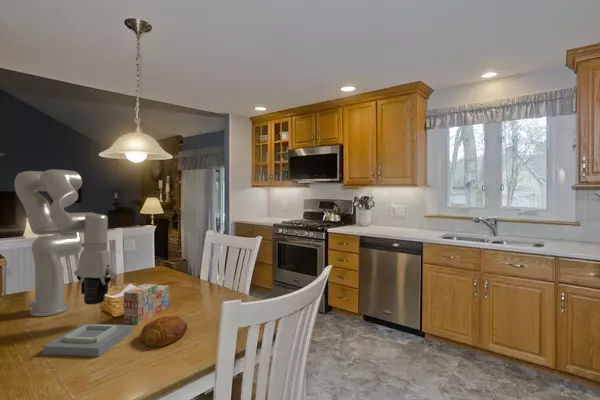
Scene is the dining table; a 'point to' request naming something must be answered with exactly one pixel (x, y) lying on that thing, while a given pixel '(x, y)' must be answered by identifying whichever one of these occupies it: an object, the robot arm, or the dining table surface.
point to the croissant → (163, 331)
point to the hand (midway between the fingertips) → (94, 293)
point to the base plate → (88, 340)
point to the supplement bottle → (93, 291)
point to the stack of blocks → (145, 302)
